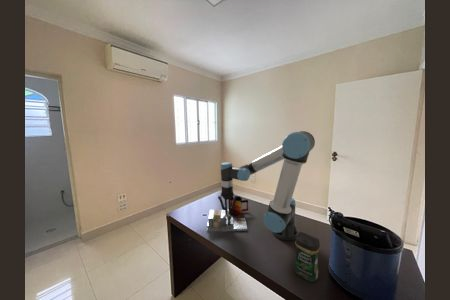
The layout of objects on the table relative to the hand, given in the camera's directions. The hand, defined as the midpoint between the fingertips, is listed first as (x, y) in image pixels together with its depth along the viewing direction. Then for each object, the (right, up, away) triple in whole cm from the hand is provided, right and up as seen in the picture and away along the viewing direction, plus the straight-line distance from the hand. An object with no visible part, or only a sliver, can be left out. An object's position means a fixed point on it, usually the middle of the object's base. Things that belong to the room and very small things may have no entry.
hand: (228, 218), depth 117 cm
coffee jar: (+34, -10, -39) cm, 53 cm away
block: (-7, -3, 0) cm, 8 cm away
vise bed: (-1, -5, 0) cm, 5 cm away
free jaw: (-1, -3, 0) cm, 3 cm away
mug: (+8, -2, +17) cm, 19 cm away
